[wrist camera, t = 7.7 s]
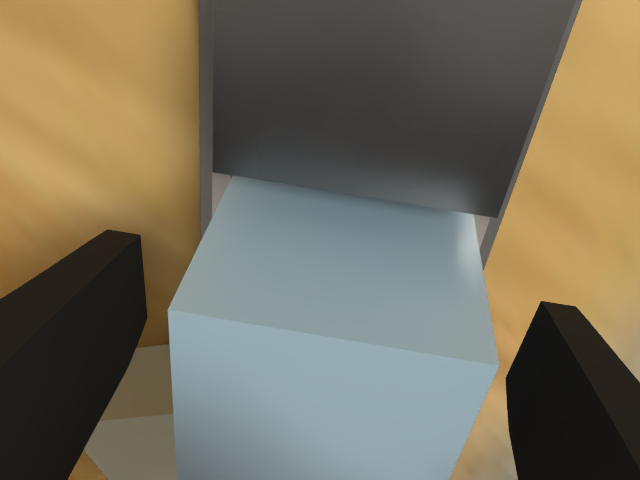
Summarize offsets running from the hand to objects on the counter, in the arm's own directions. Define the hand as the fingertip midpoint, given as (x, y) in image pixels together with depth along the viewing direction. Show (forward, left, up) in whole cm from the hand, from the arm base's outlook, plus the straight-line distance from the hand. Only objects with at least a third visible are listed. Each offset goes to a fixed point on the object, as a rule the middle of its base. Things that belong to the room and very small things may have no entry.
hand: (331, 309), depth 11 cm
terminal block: (-9, +4, -5) cm, 11 cm away
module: (0, 0, -3) cm, 3 cm away
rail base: (0, 0, -5) cm, 5 cm away
